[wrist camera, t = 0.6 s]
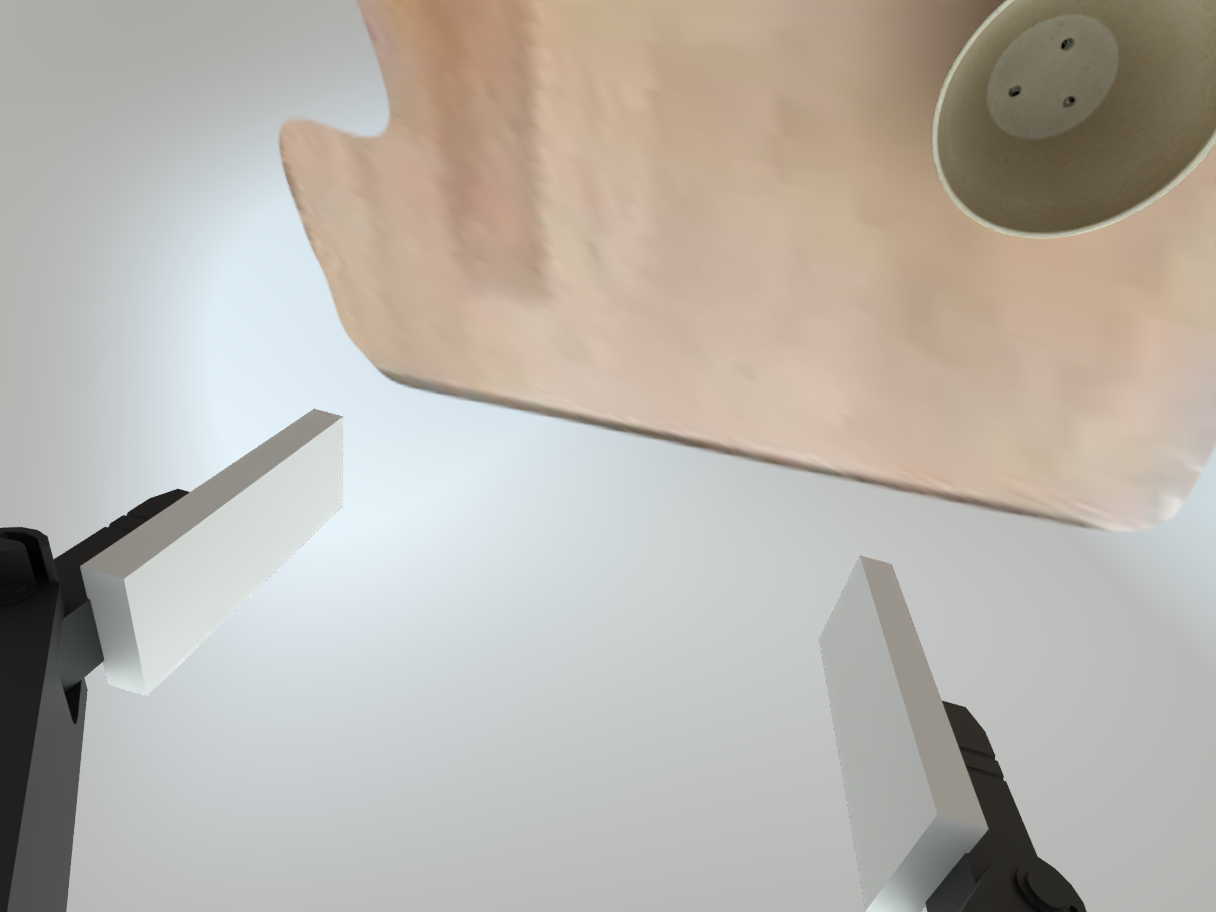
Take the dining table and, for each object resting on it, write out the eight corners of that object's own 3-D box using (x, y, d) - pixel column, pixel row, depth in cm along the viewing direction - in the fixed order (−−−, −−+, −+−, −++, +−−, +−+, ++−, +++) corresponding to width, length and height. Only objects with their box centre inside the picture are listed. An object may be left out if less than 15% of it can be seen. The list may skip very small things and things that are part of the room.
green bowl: (1235, -74, 25) (1320, -71, 20) (1130, 190, 32) (1175, 243, 26) (954, -49, 29) (965, -40, 23) (909, 187, 35) (909, 235, 30)
